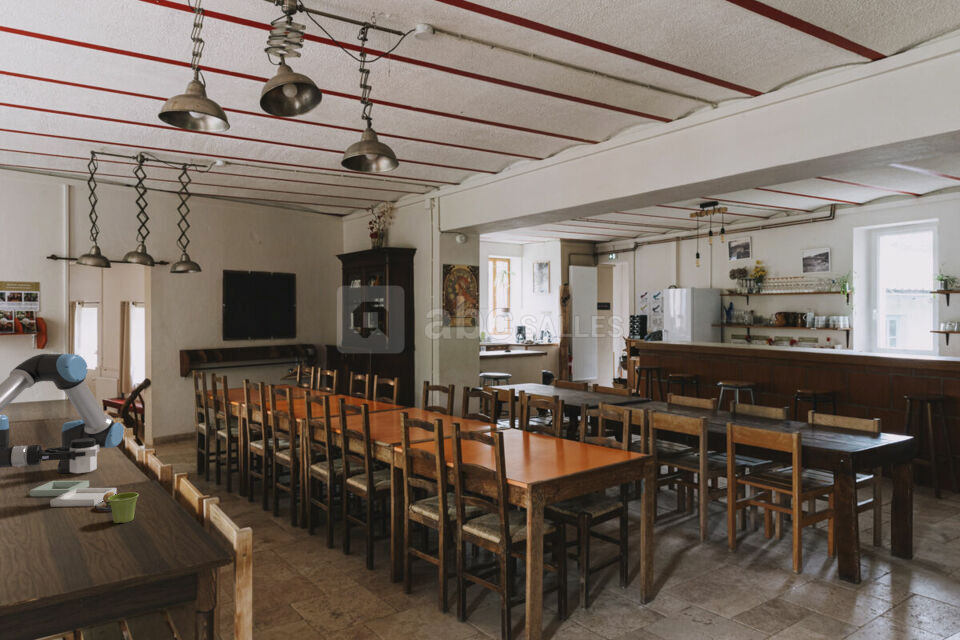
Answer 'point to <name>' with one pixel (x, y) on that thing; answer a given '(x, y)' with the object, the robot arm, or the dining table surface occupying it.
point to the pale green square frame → (48, 491)
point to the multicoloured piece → (104, 504)
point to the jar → (83, 462)
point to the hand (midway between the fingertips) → (97, 450)
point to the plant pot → (123, 506)
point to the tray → (82, 497)
